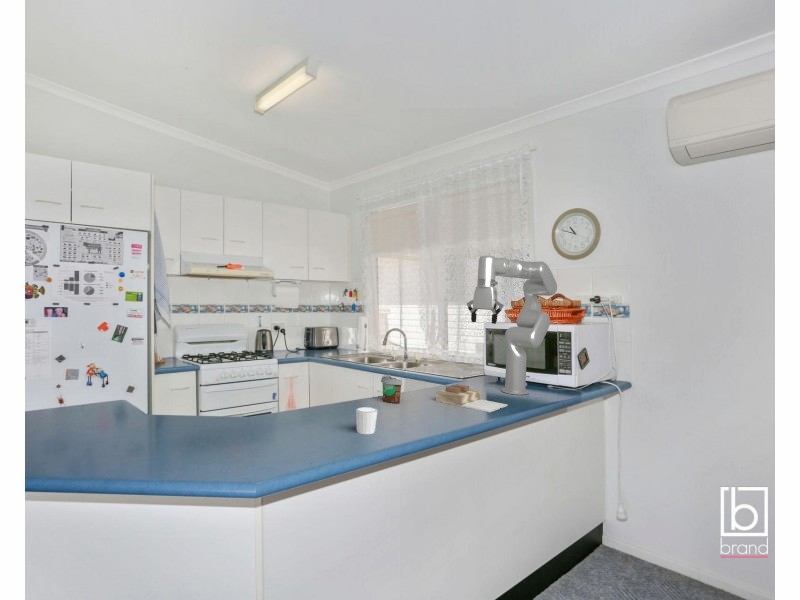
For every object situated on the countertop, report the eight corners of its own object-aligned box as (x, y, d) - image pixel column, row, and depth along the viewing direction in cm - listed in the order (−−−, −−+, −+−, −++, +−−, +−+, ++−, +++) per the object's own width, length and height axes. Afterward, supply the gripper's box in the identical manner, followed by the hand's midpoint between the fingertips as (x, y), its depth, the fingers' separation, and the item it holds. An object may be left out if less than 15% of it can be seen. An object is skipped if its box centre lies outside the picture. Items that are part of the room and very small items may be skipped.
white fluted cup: (379, 429, 141) (380, 408, 141) (372, 436, 134) (373, 413, 134) (359, 427, 143) (360, 405, 143) (351, 433, 136) (352, 410, 136)
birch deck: (455, 395, 198) (456, 386, 198) (479, 400, 191) (479, 391, 191) (435, 401, 186) (436, 391, 186) (460, 406, 178) (460, 396, 178)
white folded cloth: (480, 400, 190) (480, 399, 190) (507, 405, 183) (507, 404, 183) (461, 406, 178) (461, 405, 178) (489, 412, 170) (489, 411, 170)
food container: (375, 398, 186) (376, 374, 186) (388, 397, 188) (389, 374, 188) (387, 405, 174) (388, 380, 174) (401, 404, 177) (402, 379, 177)
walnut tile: (456, 388, 194) (457, 384, 194) (468, 391, 190) (468, 386, 190) (445, 391, 187) (446, 386, 187) (457, 393, 183) (458, 389, 183)
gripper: (508, 285, 192) (505, 324, 191) (472, 284, 202) (470, 321, 202) (500, 283, 186) (498, 324, 185) (464, 283, 196) (462, 321, 196)
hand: (483, 322), depth 193 cm, fingers open, 9 cm apart
